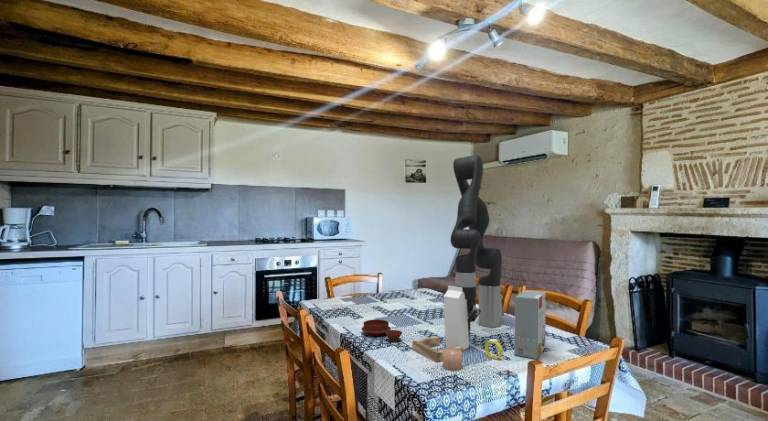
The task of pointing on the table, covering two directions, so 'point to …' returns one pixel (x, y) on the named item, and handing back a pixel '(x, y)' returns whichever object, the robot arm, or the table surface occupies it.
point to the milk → (456, 318)
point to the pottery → (380, 329)
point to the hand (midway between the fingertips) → (466, 332)
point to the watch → (497, 346)
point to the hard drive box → (530, 323)
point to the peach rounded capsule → (452, 359)
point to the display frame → (425, 348)
